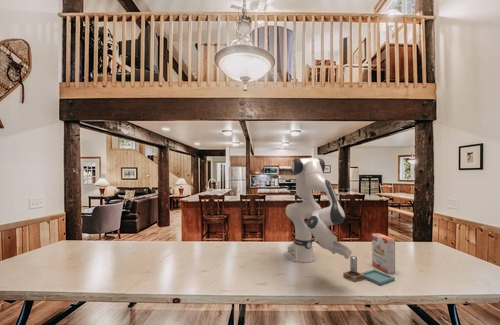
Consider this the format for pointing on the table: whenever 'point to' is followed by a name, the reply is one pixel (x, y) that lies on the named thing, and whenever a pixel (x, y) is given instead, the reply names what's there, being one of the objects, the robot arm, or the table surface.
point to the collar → (352, 278)
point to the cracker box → (383, 253)
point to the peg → (353, 266)
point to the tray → (378, 277)
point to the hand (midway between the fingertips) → (340, 255)
